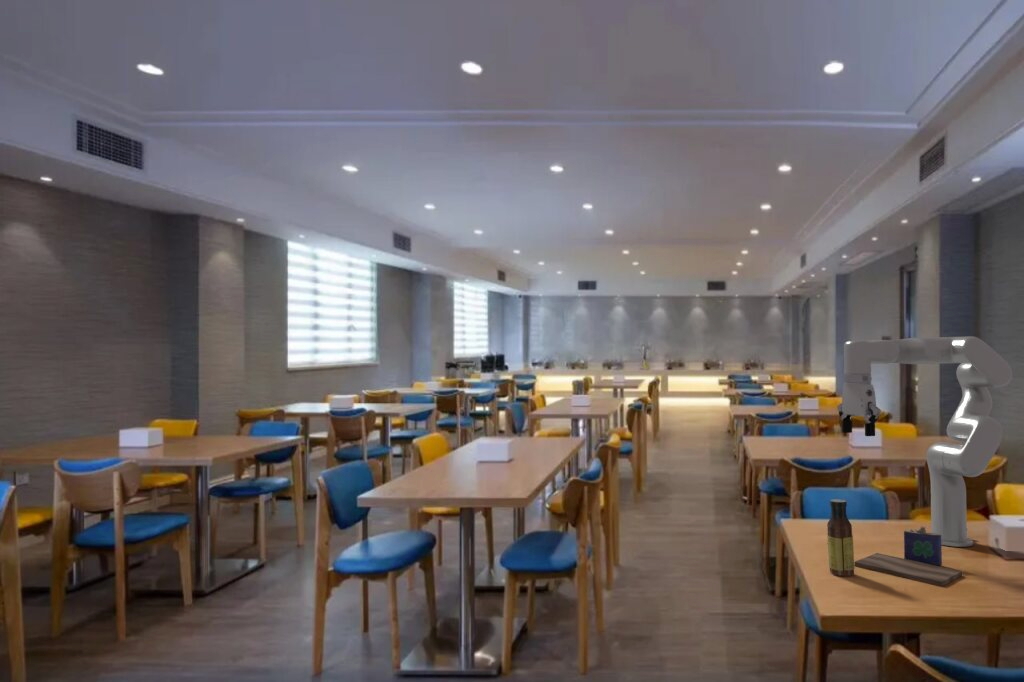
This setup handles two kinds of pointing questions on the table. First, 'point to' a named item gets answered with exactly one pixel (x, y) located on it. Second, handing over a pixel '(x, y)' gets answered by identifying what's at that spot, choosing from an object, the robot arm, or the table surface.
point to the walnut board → (909, 569)
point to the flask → (923, 546)
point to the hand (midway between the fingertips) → (858, 434)
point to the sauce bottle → (840, 540)
